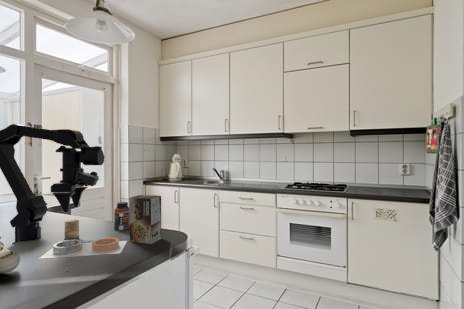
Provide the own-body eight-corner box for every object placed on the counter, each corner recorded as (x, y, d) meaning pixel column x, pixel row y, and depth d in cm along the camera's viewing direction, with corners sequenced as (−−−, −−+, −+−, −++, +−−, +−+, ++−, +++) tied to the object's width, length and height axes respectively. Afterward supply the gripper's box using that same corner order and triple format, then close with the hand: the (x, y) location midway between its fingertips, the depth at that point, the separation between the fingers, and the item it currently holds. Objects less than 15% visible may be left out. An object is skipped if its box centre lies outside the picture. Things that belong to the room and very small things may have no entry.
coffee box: (162, 241, 97) (162, 195, 96) (151, 247, 90) (151, 198, 90) (140, 238, 100) (140, 194, 99) (128, 244, 93) (128, 196, 93)
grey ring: (48, 255, 80) (48, 248, 80) (59, 246, 88) (59, 240, 88) (76, 253, 82) (76, 246, 82) (85, 245, 89) (85, 239, 89)
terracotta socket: (89, 252, 83) (89, 246, 82) (96, 244, 90) (96, 238, 90) (115, 251, 84) (115, 244, 84) (121, 243, 91) (120, 237, 91)
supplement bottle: (124, 233, 106) (124, 204, 106) (111, 232, 107) (110, 203, 107) (133, 229, 112) (133, 201, 112) (120, 228, 113) (120, 200, 113)
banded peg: (62, 243, 94) (61, 223, 94) (67, 239, 99) (67, 219, 99) (76, 242, 95) (76, 222, 95) (81, 238, 100) (81, 219, 100)
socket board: (38, 262, 78) (38, 258, 78) (56, 247, 90) (56, 244, 90) (120, 256, 82) (120, 253, 82) (127, 243, 94) (127, 240, 94)
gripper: (87, 166, 89) (87, 214, 89) (103, 164, 108) (103, 203, 108) (49, 166, 87) (49, 215, 87) (72, 164, 105) (72, 204, 106)
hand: (71, 209), depth 97 cm, fingers open, 9 cm apart
